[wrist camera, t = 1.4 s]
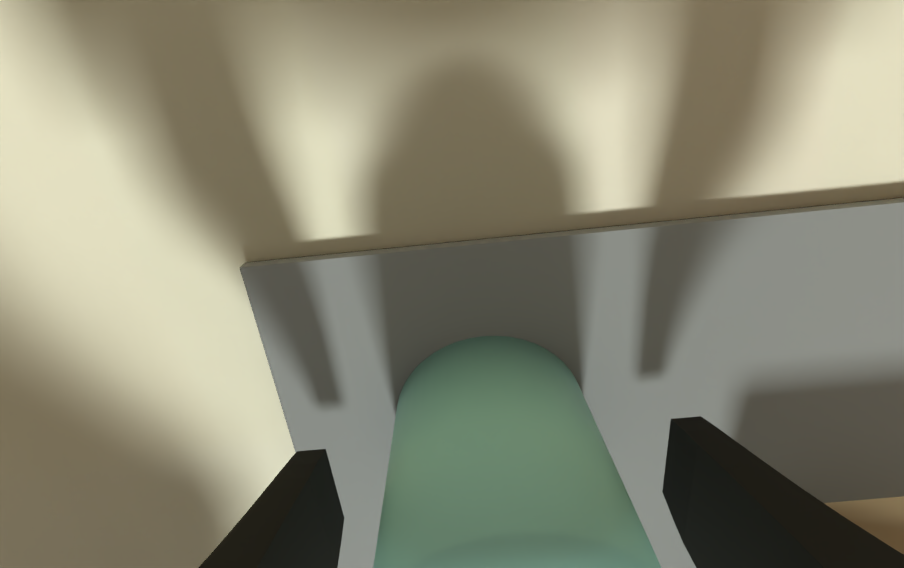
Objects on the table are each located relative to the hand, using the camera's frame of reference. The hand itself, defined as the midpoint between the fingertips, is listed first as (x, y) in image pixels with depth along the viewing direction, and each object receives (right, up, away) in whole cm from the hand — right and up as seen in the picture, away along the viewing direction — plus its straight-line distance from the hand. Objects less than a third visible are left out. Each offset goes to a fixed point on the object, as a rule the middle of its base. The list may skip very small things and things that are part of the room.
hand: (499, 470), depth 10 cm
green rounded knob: (0, +1, +2) cm, 2 cm away
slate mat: (+5, -2, +3) cm, 6 cm away
